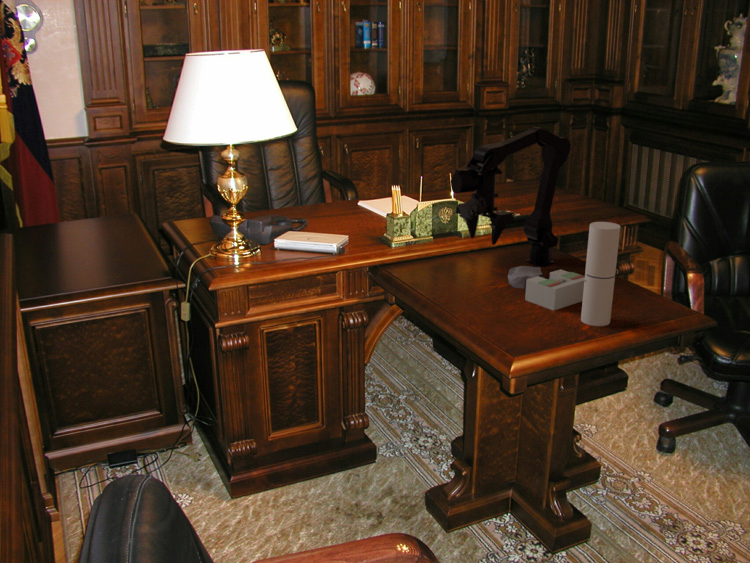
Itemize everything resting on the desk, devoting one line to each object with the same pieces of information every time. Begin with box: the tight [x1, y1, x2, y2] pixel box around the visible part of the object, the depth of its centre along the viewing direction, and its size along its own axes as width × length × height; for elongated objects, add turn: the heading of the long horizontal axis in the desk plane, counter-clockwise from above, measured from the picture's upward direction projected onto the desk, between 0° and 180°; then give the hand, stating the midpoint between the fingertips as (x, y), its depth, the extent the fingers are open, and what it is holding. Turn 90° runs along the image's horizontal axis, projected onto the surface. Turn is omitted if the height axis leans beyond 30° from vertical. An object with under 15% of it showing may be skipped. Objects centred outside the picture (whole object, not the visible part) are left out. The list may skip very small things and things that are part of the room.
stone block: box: [507, 265, 543, 290], centre depth 215 cm, size 12×5×10 cm
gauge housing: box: [524, 269, 585, 312], centre depth 200 cm, size 14×10×6 cm
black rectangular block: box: [523, 273, 564, 294], centre depth 203 cm, size 7×9×5 cm
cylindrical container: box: [580, 221, 621, 327], centre depth 183 cm, size 7×7×25 cm
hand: (482, 241), depth 220 cm, fingers open, 9 cm apart
